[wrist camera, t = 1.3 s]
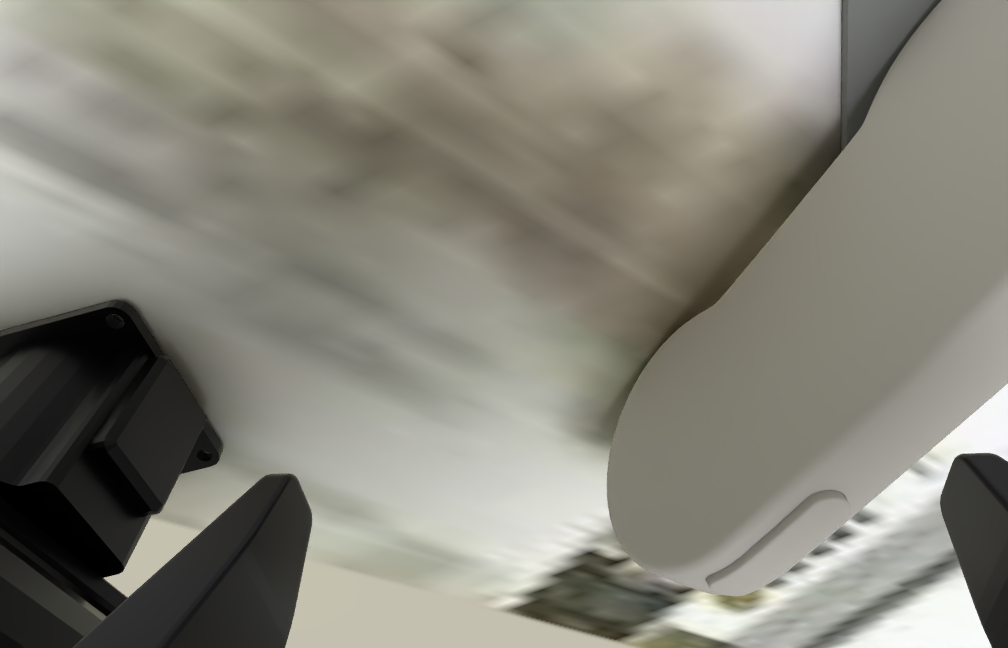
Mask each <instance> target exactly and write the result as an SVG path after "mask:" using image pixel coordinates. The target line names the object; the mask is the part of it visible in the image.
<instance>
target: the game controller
mask: <svg viewBox="0 0 1008 648" xmlns="http://www.w3.org/2000/svg"><path fill="white" fill-rule="evenodd" d="M1007 383H1008V0H941V2H940V3H939V4H938V5H937V6H936V7H935V8H934V9H933V10H932V11H931V13H930V14H929V15H928V16H927V17H926V19H925V20H924V21H923V22H922V23H921V25H920V26H919V27H918V28H917V30H916V31H915V32H914V34H913V35H912V36H911V37H910V39H909V40H908V42H907V43H906V44H905V46H904V47H903V49H902V50H901V52H900V53H899V55H898V56H897V58H896V59H895V61H894V63H893V64H892V66H891V67H890V69H889V71H888V73H887V74H886V76H885V78H884V80H883V82H882V84H881V86H880V88H879V90H878V92H877V94H876V96H875V98H874V100H873V103H872V105H871V107H870V109H869V112H868V114H867V116H866V119H865V121H864V123H863V125H862V126H861V128H860V129H859V131H858V132H857V133H856V135H855V136H854V137H853V138H852V140H851V141H850V142H849V144H848V145H847V146H846V147H845V148H844V150H843V151H842V152H841V153H840V155H839V156H838V157H837V158H836V160H835V161H834V162H833V163H832V164H831V166H830V167H829V168H828V169H827V171H826V172H825V173H824V174H823V175H822V177H821V178H820V179H819V180H818V182H817V183H816V184H815V185H814V186H813V188H812V189H811V190H810V191H809V192H808V194H807V195H806V196H805V197H804V199H803V200H802V201H801V202H800V203H799V205H798V206H797V207H796V208H795V209H794V211H793V212H792V213H791V214H790V216H789V217H788V218H787V219H786V220H785V222H784V223H783V224H782V225H781V226H780V228H779V229H778V230H777V231H776V232H775V234H774V235H773V236H772V237H771V239H770V240H769V241H768V242H767V243H766V245H765V246H764V247H763V248H762V249H761V251H760V252H759V253H758V254H757V255H756V257H755V258H754V259H753V260H752V261H751V263H750V264H749V265H748V266H747V267H746V269H745V270H744V271H743V272H742V273H741V275H740V276H739V277H738V278H737V279H736V281H735V282H734V283H733V284H732V285H731V287H730V288H729V289H728V290H727V291H726V292H725V294H724V295H723V296H722V297H721V298H720V299H719V300H718V301H717V303H715V304H714V305H713V306H711V307H710V308H708V309H706V310H705V311H703V312H701V313H700V314H698V315H697V316H695V317H693V318H692V319H691V320H689V321H688V322H686V323H685V324H684V325H683V326H681V327H680V328H679V329H678V330H677V331H675V332H674V333H673V334H672V335H671V336H670V337H669V338H668V339H667V340H666V341H665V342H664V343H663V344H662V346H661V347H660V348H659V349H658V350H657V351H656V353H655V354H654V355H653V357H652V358H651V359H650V361H649V362H648V364H647V365H646V366H645V368H644V369H643V371H642V373H641V374H640V376H639V377H638V379H637V381H636V383H635V385H634V386H633V388H632V390H631V392H630V394H629V396H628V398H627V401H626V403H625V405H624V408H623V410H622V413H621V415H620V418H619V421H618V424H617V427H616V430H615V434H614V437H613V441H612V446H611V450H610V456H609V462H608V472H607V500H608V508H609V514H610V519H611V523H612V526H613V529H614V532H615V534H616V537H617V539H618V541H619V543H620V544H621V546H622V547H623V549H624V551H625V552H626V553H627V554H628V556H629V557H630V558H631V559H632V560H633V561H634V562H635V563H637V564H638V565H639V566H641V567H642V568H644V569H645V570H647V571H649V572H651V573H654V574H656V575H659V576H661V577H664V578H666V579H669V580H672V581H674V582H677V583H680V584H682V585H685V586H688V587H690V588H693V589H696V590H699V591H702V592H706V593H710V594H718V595H727V596H743V595H746V594H749V593H751V592H753V591H755V590H757V589H759V588H761V587H763V586H765V585H766V584H768V583H770V582H772V581H774V580H775V579H777V578H778V577H780V576H781V575H783V574H784V573H786V572H787V571H788V570H789V569H790V568H792V567H793V566H794V565H795V564H797V563H798V562H799V561H800V560H802V559H803V558H804V557H805V556H806V555H808V554H809V553H810V552H811V551H813V550H814V549H815V548H816V547H817V546H819V545H820V544H821V543H822V542H823V541H825V540H826V539H827V538H828V537H829V536H830V535H832V534H833V533H834V532H835V531H836V530H837V529H839V528H840V527H841V526H842V525H843V524H845V523H846V522H847V521H848V520H849V519H850V518H852V517H853V516H854V515H855V514H856V513H857V512H859V511H860V510H861V509H862V508H863V507H864V506H866V505H867V504H868V503H869V502H870V501H872V500H873V499H874V498H875V497H876V496H877V495H879V494H880V493H881V492H882V491H883V490H884V489H886V488H887V487H888V486H889V485H890V484H891V483H893V482H894V481H895V480H896V479H897V478H898V477H900V476H901V475H902V474H903V473H904V472H905V471H907V470H908V469H909V468H910V467H911V466H912V465H914V464H915V463H916V462H917V461H918V460H919V459H920V458H922V457H923V456H924V455H925V454H926V453H927V452H929V451H930V450H931V449H932V448H933V447H934V446H936V445H937V444H938V443H939V442H940V441H941V440H943V439H944V438H945V437H946V436H947V435H948V434H950V433H951V432H952V431H953V430H954V429H955V428H956V427H958V426H959V425H960V424H961V423H962V422H963V421H965V420H966V419H967V418H968V417H969V416H970V415H972V414H973V413H974V412H975V411H976V410H977V409H979V408H980V407H981V406H982V405H983V404H984V403H986V402H987V401H988V400H989V399H990V398H991V397H992V396H994V395H995V394H996V393H997V392H998V391H999V390H1001V389H1002V388H1003V387H1004V386H1005V385H1006V384H1007Z"/></svg>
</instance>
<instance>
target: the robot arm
mask: <svg viewBox="0 0 1008 648" xmlns="http://www.w3.org/2000/svg"><path fill="white" fill-rule="evenodd" d="M112 314H116V315H118V316H120V317H121V318H122V319H123V320H124V322H119V321H117V320H115V319H114V318H113V316H112ZM206 419H207V418H206V415H205V414H204V412H203V411H202V409H201V407H200V406H199V404H198V403H197V401H196V400H195V398H194V396H193V395H192V393H191V392H190V390H189V389H188V387H187V385H186V384H185V382H184V381H183V379H182V378H181V376H180V374H179V373H178V371H177V370H176V368H175V367H174V365H173V363H172V362H171V361H170V360H169V359H168V358H166V357H165V355H164V353H163V352H162V350H161V349H160V347H159V346H158V344H157V342H156V341H155V339H154V338H153V336H152V335H151V333H150V332H149V330H148V328H147V327H146V325H145V324H144V322H143V321H142V319H141V317H140V316H139V314H138V313H137V311H136V310H135V309H134V308H133V307H132V306H131V305H130V304H128V303H126V302H123V301H119V300H117V301H109V302H106V303H102V304H98V305H95V306H91V307H87V308H84V309H80V310H76V311H73V312H69V313H65V314H62V315H58V316H54V317H51V318H47V319H43V320H40V321H36V322H32V323H29V324H25V325H21V326H18V327H14V328H10V329H7V330H3V331H0V648H285V645H286V642H287V639H288V635H289V632H290V628H291V624H292V620H293V616H294V612H295V607H296V602H297V597H298V592H299V587H300V582H301V577H302V572H303V567H304V562H305V557H306V552H307V547H308V542H309V537H310V532H311V527H312V513H311V509H310V506H309V504H308V502H307V499H306V497H305V495H304V492H303V490H302V488H301V485H300V483H299V481H298V479H297V477H296V476H294V475H293V474H269V475H266V476H264V477H263V478H262V479H260V480H259V481H258V482H257V483H256V484H255V485H254V486H253V487H251V488H250V489H249V490H248V491H247V492H246V493H245V494H244V495H242V496H241V497H240V498H239V499H238V500H237V501H236V502H235V503H233V504H232V505H231V506H230V507H229V508H228V509H227V510H226V511H225V512H223V513H222V514H221V515H220V516H219V517H218V518H217V519H216V520H214V521H213V522H212V523H211V524H210V525H209V526H208V527H207V528H206V529H204V530H203V531H202V532H201V533H200V534H199V535H198V536H197V537H196V538H195V539H193V540H192V541H191V542H190V543H189V544H188V545H187V546H185V547H184V548H183V549H182V550H181V551H180V552H179V553H178V554H176V555H175V556H174V557H173V558H172V559H171V560H170V561H169V562H168V563H166V564H165V565H164V566H163V567H162V568H161V569H160V570H159V571H158V572H156V573H155V574H154V575H153V576H152V577H151V578H150V579H148V580H147V581H146V582H145V583H144V584H143V585H142V586H141V587H140V588H138V589H137V590H136V591H135V592H134V593H133V594H132V595H131V596H129V597H128V598H127V597H126V596H125V595H124V594H122V593H121V592H120V591H119V590H117V589H116V588H115V587H114V586H112V585H111V584H110V583H109V582H107V581H106V580H105V579H104V577H108V576H112V575H116V574H119V573H121V572H123V570H124V568H125V566H126V564H127V562H128V560H129V558H130V556H131V554H132V552H133V550H134V549H135V546H136V545H137V543H138V540H139V539H140V537H141V535H142V533H143V531H144V529H145V527H146V525H147V523H148V521H149V519H150V517H151V515H154V514H158V513H160V512H161V511H162V509H163V507H164V505H165V503H166V501H167V499H168V497H169V495H170V493H171V491H172V489H173V487H174V485H175V483H176V481H177V479H178V477H179V475H180V474H182V473H186V472H190V471H194V470H198V469H202V468H206V467H210V466H213V465H215V464H217V462H218V461H219V459H220V457H221V455H222V452H223V447H222V444H221V443H220V441H219V440H218V438H217V436H216V435H215V433H214V432H213V430H212V429H211V427H210V425H209V424H208V422H207V421H206ZM202 450H206V451H209V452H210V453H205V452H203V451H202ZM940 505H941V512H942V515H943V518H944V521H945V524H946V527H947V530H948V532H949V535H950V538H951V541H952V544H953V547H954V549H955V552H956V555H957V558H958V561H959V563H960V566H961V569H962V572H963V575H964V577H965V580H966V583H967V586H968V589H969V591H970V594H971V597H972V600H973V603H974V605H975V608H976V611H977V613H978V616H979V619H980V621H981V624H982V626H983V628H984V631H985V633H986V635H987V637H988V639H989V642H990V644H991V646H992V648H1008V462H1007V461H1006V460H1004V459H1003V458H1001V457H999V456H997V455H995V454H991V453H974V454H961V455H958V456H957V457H956V458H955V459H954V461H953V463H952V466H951V469H950V472H949V474H948V477H947V480H946V483H945V486H944V488H943V491H942V494H941V500H940Z"/></svg>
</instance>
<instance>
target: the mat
mask: <svg viewBox="0 0 1008 648" xmlns="http://www.w3.org/2000/svg"><path fill="white" fill-rule="evenodd" d="M940 2H941V0H843V1H842V135H841V152H842V151H843V150H844V148H845V147H846V146H847V145H848V144H849V142H850V141H851V140H852V138H853V137H854V136H855V135H856V133H857V132H858V131H859V129H860V128H861V126H862V125H863V123H864V121H865V119H866V116H867V114H868V112H869V109H870V107H871V105H872V103H873V100H874V98H875V96H876V94H877V92H878V90H879V88H880V86H881V84H882V82H883V80H884V78H885V76H886V74H887V73H888V71H889V69H890V67H891V66H892V64H893V63H894V61H895V59H896V58H897V56H898V55H899V53H900V52H901V50H902V49H903V47H904V46H905V44H906V43H907V42H908V40H909V39H910V37H911V36H912V35H913V34H914V32H915V31H916V30H917V28H918V27H919V26H920V25H921V23H922V22H923V21H924V20H925V19H926V17H927V16H928V15H929V14H930V13H931V11H932V10H933V9H934V8H935V7H936V6H937V5H938V4H939V3H940Z"/></svg>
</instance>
